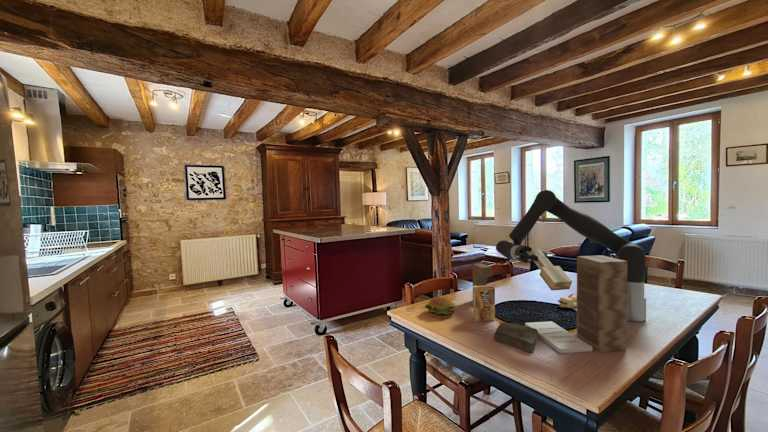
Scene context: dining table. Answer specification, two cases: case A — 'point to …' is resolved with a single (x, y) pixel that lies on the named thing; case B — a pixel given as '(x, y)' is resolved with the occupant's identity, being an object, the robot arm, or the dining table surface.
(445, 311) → the food
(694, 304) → the dining table surface
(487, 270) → the decorative block
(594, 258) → the zigzag patterned tall block
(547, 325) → the grey board
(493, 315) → the candy box
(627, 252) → the robot arm
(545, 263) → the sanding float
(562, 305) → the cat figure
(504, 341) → the marble piece
